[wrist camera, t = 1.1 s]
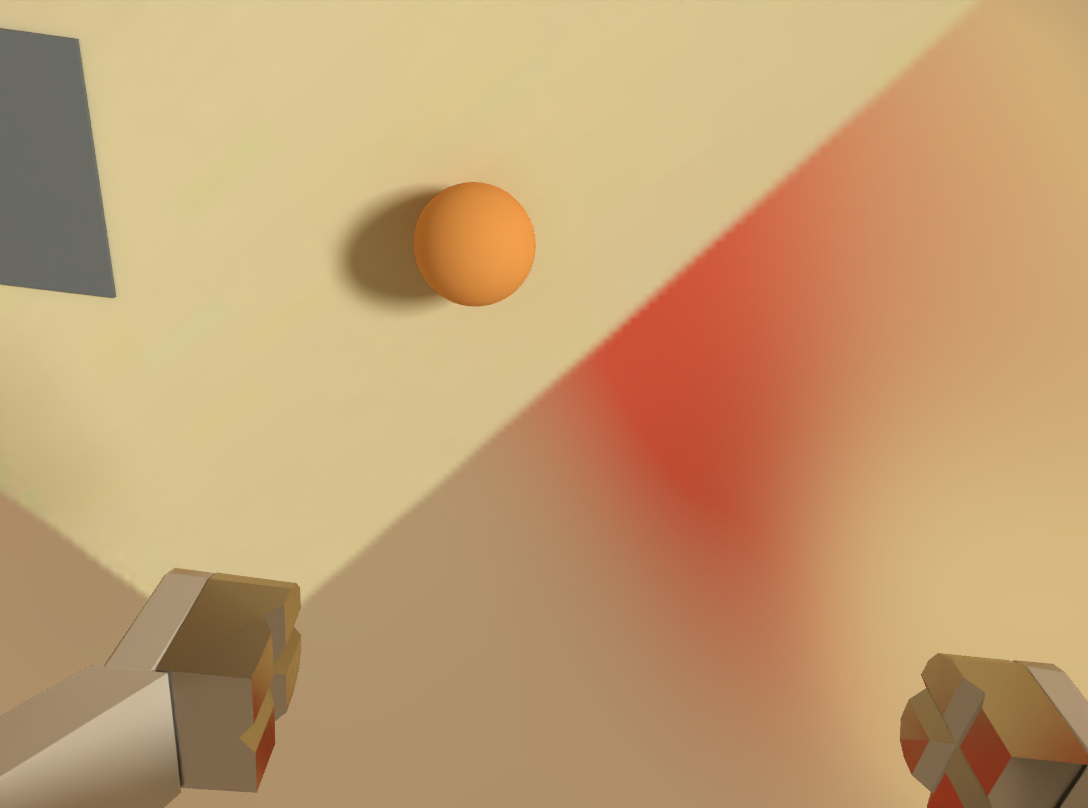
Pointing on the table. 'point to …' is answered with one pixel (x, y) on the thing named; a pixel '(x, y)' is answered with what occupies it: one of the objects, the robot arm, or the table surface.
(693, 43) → the table surface
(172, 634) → the robot arm
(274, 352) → the table surface
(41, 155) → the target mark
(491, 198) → the ball
